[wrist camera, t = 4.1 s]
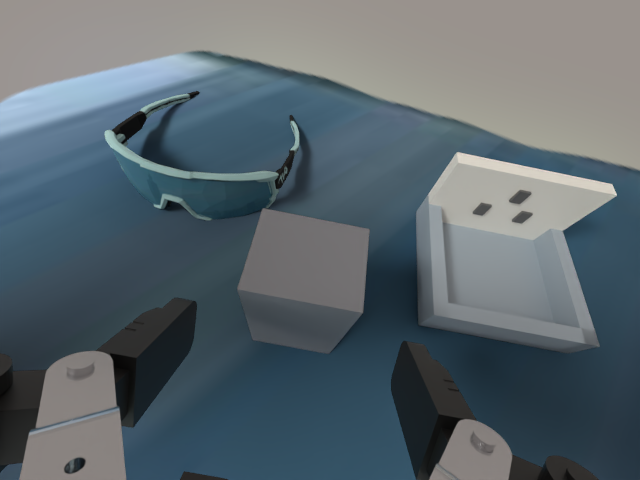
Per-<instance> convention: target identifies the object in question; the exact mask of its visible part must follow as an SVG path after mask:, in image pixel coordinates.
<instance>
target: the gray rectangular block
mask: <svg viewBox="0 0 640 480" xmlns="http://www.w3.org/2000/svg"><path fill="white" fill-rule="evenodd" d="M369 230H370V229H366V228H361V227H356V226H351V225H346V224H341V223H336V222H330V221H325V220H320V219H315V218H310V217H305V216H300V215H295V214H290V213H285V212H280V211H275V210H270V209H265V208H263V209H262V212H261V215H260V218H259V221H258V225H257V228H256V231H255V234H254V237H253V241H252V244H251V247H250V250H249V253H248V256H247V260H246V263H245V266H244V269H243V272H242V275H241V279H240V282H239V285H238V288H237V290H238V294H239V297H240V300H241V303H242V307H243V310H244V313H245V316H246V320H247V323H248V326H249V330H250V333H251V336H252V339H253V340H255V341H260V342H266V343H271V344H277V345H282V346H287V347H293V348H298V349H304V350H309V351H314V352H320V353H325V354H329V353H330V352H331V351H332V350H333V349H334V347H335V346H336V345H337V344H338V343H339V341H340V340H341V339H342V338H343V337H344V335H345V334H346V333H347V332H348V331H349V329H350V328H351V327H352V326H353V325H354V323H355V322H356V321H357V320H358V319H359V317H360V316H361V315H362V314H363V307H364V294H365V281H366V268H367V255H368V243H369Z"/></svg>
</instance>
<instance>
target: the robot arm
mask: <svg viewBox="0 0 640 480" xmlns="http://www.w3.org/2000/svg"><path fill="white" fill-rule="evenodd" d="M196 310H197V303H196V301H192V300H187V299H181V298H174V299H172V300H171V301H170V302H169V303H168V304H166V305H165V306H164V307H163V308H155V309H152V310H150V311H147V312H145V313H143V314H141V315H140V316H139V317H138V318H136V319H135V320H134V321H133V323H130V324H129V325H128V326H126V327H125V329H122V330H121V331H120V332H119V333H117V334H116V335H115V336H114V337H112V338H111V339H110V340H109V341H107V342H106V343H105V344H104V345H102V346H101V347H100V348H99V349H97V350H96V351H85V352H79V353H75V354H71V355H69V356H66V357H64V358H62V359H60V360H58V361H56V362H55V363H54V364H52V365H51V366H50V367H49V368H48V370H30V371H13V369H12V359H11V358H10V357H9V356H7V355H5V354H0V472H1V471H2V470H3V469H4V468H5V467H6V466H7V465H8V464H15V463H23V465H22V470H21V475H20V479H19V480H126V473H125V462H124V451H123V440H122V430H121V426H126V427H132V428H133V427H134V426H135V424H136V423H137V422H138V420H139V419H140V418H141V416H142V415H143V414H144V412H145V411H146V410H147V408H148V407H149V406H150V404H151V403H152V402H153V400H154V399H155V398H156V396H157V395H158V394H159V392H160V391H161V390H162V388H163V387H164V385H165V384H166V383H167V381H168V380H169V379H170V377H171V376H172V375H173V373H174V372H175V371H176V369H177V368H178V367H179V365H180V364H181V363H182V361H183V360H184V359H185V357H186V356H187V354H188V353H189V351H190V349H191V346H192V343H193V339H194V330H195V320H196ZM391 391H392V396H393V399H394V403H395V406H396V410H397V413H398V417H399V420H400V424H401V427H402V431H403V435H404V438H405V442H406V445H407V449H408V452H409V456H410V459H411V463H412V466H413V470H414V473H415V477H416V479H417V480H599V479H598V478H597V477H595V476H594V475H593V474H592V473H591V472H589V471H588V470H587V469H585V468H584V467H582V466H581V465H579V464H577V463H575V462H573V461H571V460H569V459H567V458H564V457H561V456H549V457H548V458H547V459H546V461H545V463H544V465H543V468H542V467H539V466H537V465H535V464H533V463H530V462H528V461H526V460H523V459H521V458H519V457H516V456H514V455H512V453H511V450H510V448H509V446H508V445H507V443H506V442H505V440H504V439H503V438H502V437H501V436H500V435H499V434H498V433H497V432H495V431H494V430H493V429H491V428H490V427H488V426H486V425H485V424H483V423H480V422H478V421H477V420H476V418H475V417H474V415H473V413H472V412H471V410H470V408H469V406H468V405H467V403H466V401H465V400H464V398H463V396H462V394H461V393H460V392H459V389H458V388H457V386H456V384H455V383H454V381H453V379H452V377H451V376H450V374H449V372H448V371H447V370H446V369H445V368H444V367H443V366H442V365H441V364H440V363H439V362H438V361H437V360H432V358H431V356H430V354H429V352H428V350H427V349H426V347H425V345H423V344H418V343H413V342H408V341H403V342H402V344H401V347H400V350H399V354H398V357H397V360H396V364H395V367H394V371H393V374H392V379H391ZM180 480H228V479H224V478H219V477H213V476H207V475H201V474H196V473H190V472H184V473H183V475H182V477H181V479H180Z"/></svg>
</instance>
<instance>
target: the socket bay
mask: <svg viewBox="0 0 640 480" xmlns="http://www.w3.org/2000/svg"><path fill="white" fill-rule="evenodd" d="M615 196H617V194H616V192H615V190H614V187H613V185H612V184H609V183H604V182H599V181H594V180H589V179H585V178H580V177H575V176H570V175H565V174H560V173H555V172H551V171H546V170H541V169H536V168H531V167H526V166H522V165H517V164H512V163H507V162H502V161H497V160H492V159H488V158H483V157H478V156H473V155H468V154H463V153H459V152H457V153H456V154H455V156H454V157H453V159H452V160H451V162H450V163H449V165H448V166H447V168H446V169H445V171H444V172H443V173H442V175H441V176H440V178H439V179H438V181H437V182H436V184H435V185H434V187H433V188H432V190H431V191H430V193H429V194H428V196H427V197H426V198H425V200H424V201H423V203H422V204H421V206H420V207H419V209H418V210H417V212H416V235H417V288H418V325H420V326H425V327H430V328H435V329H441V330H446V331H451V332H457V333H462V334H467V335H473V336H478V337H483V338H488V339H494V340H499V341H504V342H510V343H515V344H520V345H525V346H531V347H536V348H541V349H547V350H552V351H557V352H562V353H573V352H577V351H582V350H586V349H591V348H595V347H600V345H599V342H598V339H597V336H596V333H595V330H594V326H593V323H592V320H591V317H590V314H589V311H588V308H587V305H586V302H585V299H584V295H583V292H582V289H581V286H580V283H579V280H578V277H577V274H576V271H575V268H574V264H573V261H572V258H571V255H570V252H569V249H568V246H567V243H566V240H565V237H564V233H563V230H565V229H566V228H568V227H569V226H571V225H572V224H574V223H575V222H577V221H579V220H580V219H582V218H583V217H585V216H586V215H588V214H589V213H591V212H592V211H594V210H595V209H597V208H598V207H600V206H602V205H603V204H605V203H606V202H608V201H609V200H611V199H612V198H614V197H615Z"/></svg>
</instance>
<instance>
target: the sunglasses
mask: <svg viewBox="0 0 640 480" xmlns="http://www.w3.org/2000/svg"><path fill="white" fill-rule="evenodd" d="M196 94H199V92H198V91H196V92H192V93H188V94H183V95H176V96H173V97H170V98H166V99H163V100H160V101H156V102H154V103H152V104H149V105H147V106H145V107H143V108H142V109H141V110H140V111H139V112H137V113H135V114H134V115H132V116H131V117H129V118H128V119H126V120H125V121H123V122H122V123H120V124H119V125H118V126H116V127H115V128H114V129H113V130H112V131H111V130H106V132H105V139H106V141H107V142H108V144H109V145H110V146H111V148H112V149H113V151H114V154H115V156H116V158H117V160H118V162H119V163H120V165H121V167H122V169H123V171H124V172H125V174H126V176H127V177H128V179H129V181H130V182H131V183H132V185H133V186H134V187H135V188H136V190H137V191H138V192H139V194H141V195H142V196H143V197H144V198H145V199H147V200H148V201H149V202H151V203H153V204H154V207H156V208H159V209H164V208H165V206H166V205H167V203H168V206H170V204H171V202H172V201H174V202H177V203H180V204H181V205H182V206H183V207H184V208H185V209H186V210H187V211H189V212H190V213H191V214H192V215H193V216H194V217H195V218H198V219H202V220H207V221H210V220H211V219H224V218H231V217H238V216H244V215H248V214H251V213H253V212H256V211H259V210H261V209H263V208H269V207H270V206H271V204H272V203H273V202H274V201H275V200H276V195H277V194H278V193H279V188H281V187H282V185H283V183H284V181H285V180H286V178H287V176H288V174H289V172H290V170H291V167H292V163H293V159H294V156H295V154H296V153H297V151H298V148H299V131H298V128H297V125H296V124H295V122H294V121H293V117H292V115H290V124H291V127H292V130H293V133H294V135H295V145H294V147H293V148H291V149H290V150H289V156H288V158H287V159H286V161H285V163H284V164H283V166H282V167H281V169H279V170H277V171H276V172H270V171H259V172H251V173H243V174H216V173H203V172H189V171H183V170H179V169H175V168H171V167H167V166H163V165H159V164H156V163H154V162H151V161H149V160H146V159H144V158H142V157H140V156H138V155H137V154H135V153H134V152H132V151H131V150H129V149H128V148H126V146H127V145H128V143H127V140H128V139H129V138H130V137H132V136H133V135H134V134H135V133H137V132H138V131H139V130H140V129H142V127H143V125H144V123H145V121H146V119H147V118H148V117H149V116H150V115H151V114H152V113H154V112H156V111H158V110H161V109H163V108H166V107H168V106H171V105H174V104H178V103H182V102H185V101H187V100H189V99H191V98H193V97H194V95H196Z"/></svg>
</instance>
